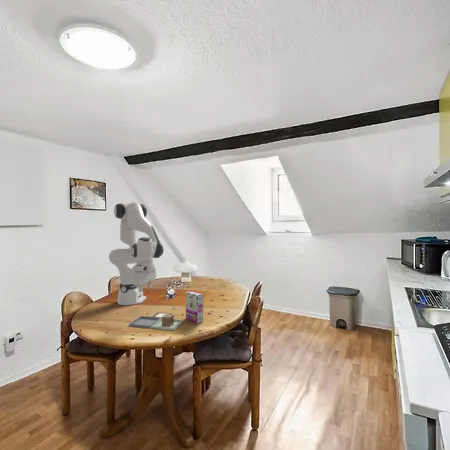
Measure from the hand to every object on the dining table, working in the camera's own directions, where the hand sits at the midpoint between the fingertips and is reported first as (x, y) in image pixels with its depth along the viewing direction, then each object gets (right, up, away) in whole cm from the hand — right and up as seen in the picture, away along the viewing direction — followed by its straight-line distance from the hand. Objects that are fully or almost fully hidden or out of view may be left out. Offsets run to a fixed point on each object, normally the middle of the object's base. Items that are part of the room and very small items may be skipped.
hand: (145, 289), depth 159 cm
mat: (+7, -19, +12) cm, 24 cm away
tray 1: (0, -20, 0) cm, 20 cm away
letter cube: (+14, -19, -3) cm, 24 cm away
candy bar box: (+28, -20, +5) cm, 35 cm away
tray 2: (+14, -20, -3) cm, 24 cm away
